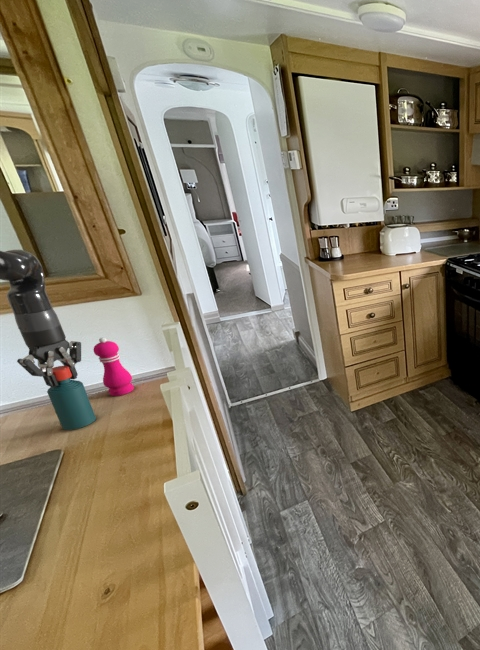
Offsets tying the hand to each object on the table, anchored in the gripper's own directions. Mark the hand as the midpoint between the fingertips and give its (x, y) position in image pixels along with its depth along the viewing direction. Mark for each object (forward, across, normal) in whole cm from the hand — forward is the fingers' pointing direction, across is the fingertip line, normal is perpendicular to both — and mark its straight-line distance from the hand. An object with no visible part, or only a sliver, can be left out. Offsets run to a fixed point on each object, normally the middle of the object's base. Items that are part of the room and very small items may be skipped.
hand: (63, 382), depth 107 cm
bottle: (+14, 0, 0) cm, 14 cm away
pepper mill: (+14, +17, +5) cm, 23 cm away
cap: (-1, 0, 0) cm, 1 cm away
